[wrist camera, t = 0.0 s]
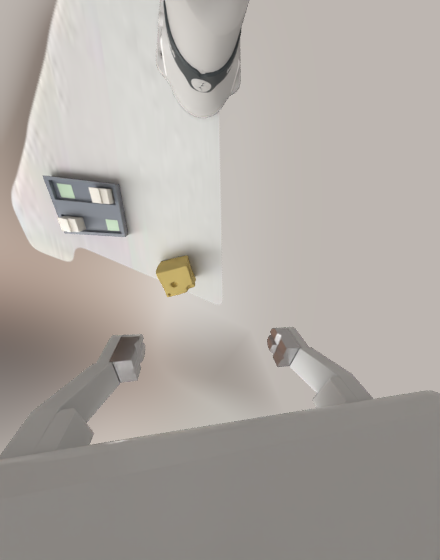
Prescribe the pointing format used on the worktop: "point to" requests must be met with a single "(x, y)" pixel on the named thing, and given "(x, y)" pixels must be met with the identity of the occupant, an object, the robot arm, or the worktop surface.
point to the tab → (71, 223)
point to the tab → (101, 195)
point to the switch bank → (88, 206)
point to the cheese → (176, 275)
